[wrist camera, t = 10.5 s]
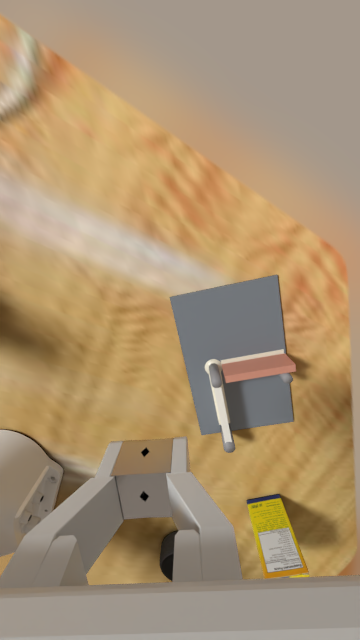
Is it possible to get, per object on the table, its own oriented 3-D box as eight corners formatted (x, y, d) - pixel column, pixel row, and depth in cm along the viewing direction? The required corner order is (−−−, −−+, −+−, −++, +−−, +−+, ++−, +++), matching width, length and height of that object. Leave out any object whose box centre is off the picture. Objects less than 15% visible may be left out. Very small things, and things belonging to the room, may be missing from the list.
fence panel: (222, 370, 35) (226, 383, 31) (221, 364, 34) (224, 376, 31) (285, 359, 34) (296, 371, 30) (284, 353, 34) (295, 364, 30)
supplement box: (253, 523, 44) (272, 609, 33) (245, 499, 42) (263, 580, 32) (286, 517, 43) (316, 603, 32) (279, 492, 41) (309, 574, 31)
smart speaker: (164, 523, 45) (161, 549, 41) (210, 530, 45) (212, 556, 41) (159, 556, 47) (156, 582, 43) (204, 562, 47) (205, 589, 43)
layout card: (292, 420, 37) (293, 421, 37) (201, 433, 39) (201, 435, 38) (276, 274, 32) (277, 275, 31) (170, 297, 33) (169, 297, 33)
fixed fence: (286, 420, 37) (300, 444, 33) (221, 430, 38) (225, 454, 34) (278, 350, 34) (292, 365, 30) (207, 363, 35) (209, 379, 31)
